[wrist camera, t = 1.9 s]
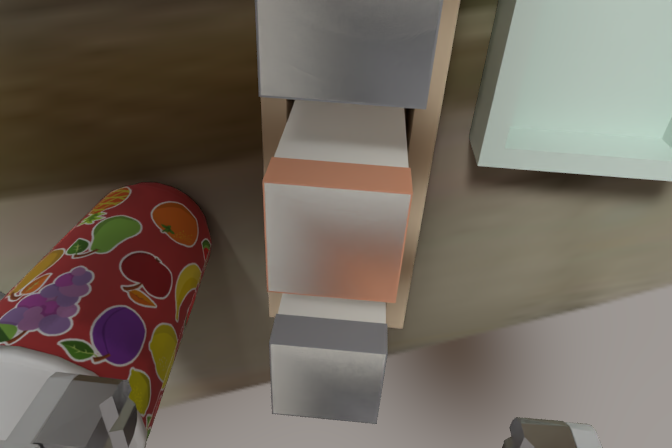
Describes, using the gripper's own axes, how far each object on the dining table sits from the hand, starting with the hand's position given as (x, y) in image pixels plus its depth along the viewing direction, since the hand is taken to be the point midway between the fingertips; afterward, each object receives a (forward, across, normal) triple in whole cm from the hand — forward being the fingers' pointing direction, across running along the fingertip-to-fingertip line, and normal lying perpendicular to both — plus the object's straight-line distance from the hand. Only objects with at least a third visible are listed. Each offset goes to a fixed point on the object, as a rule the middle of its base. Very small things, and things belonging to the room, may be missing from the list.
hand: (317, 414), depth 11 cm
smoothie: (+18, +11, +8) cm, 23 cm away
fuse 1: (+16, 0, -7) cm, 18 cm away
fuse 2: (+16, 0, +6) cm, 17 cm away
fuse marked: (+16, 0, -1) cm, 16 cm away
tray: (+18, -11, -5) cm, 21 cm away
